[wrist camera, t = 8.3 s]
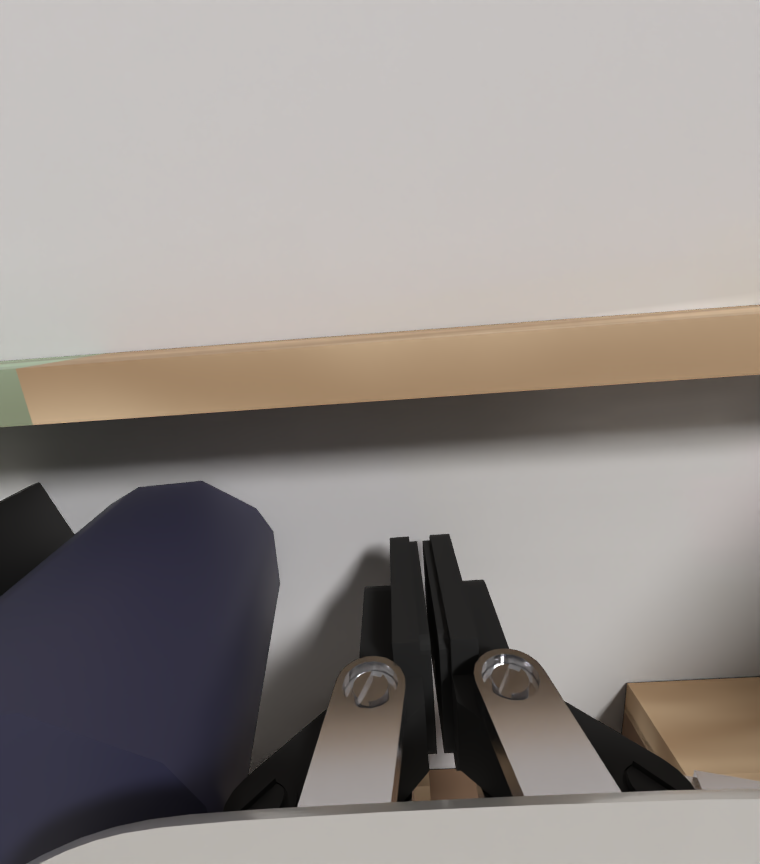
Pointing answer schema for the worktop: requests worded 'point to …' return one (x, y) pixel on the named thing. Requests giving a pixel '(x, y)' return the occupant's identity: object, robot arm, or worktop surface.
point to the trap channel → (436, 377)
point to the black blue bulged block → (128, 660)
